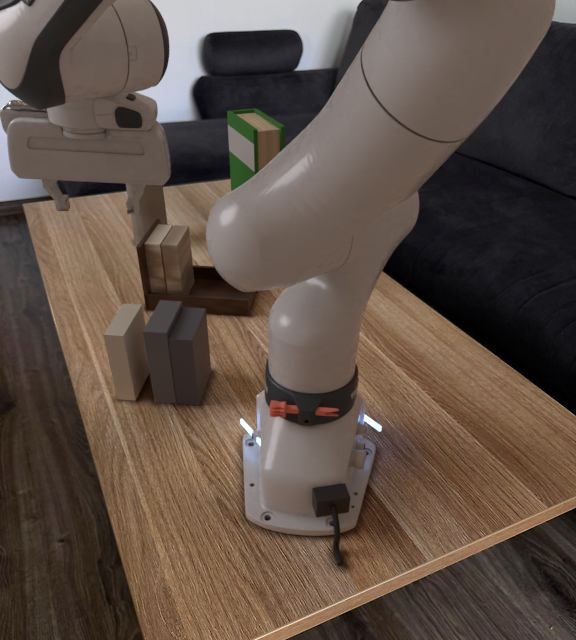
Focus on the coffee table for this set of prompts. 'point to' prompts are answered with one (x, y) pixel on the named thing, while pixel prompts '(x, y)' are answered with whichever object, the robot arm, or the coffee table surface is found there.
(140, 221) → the thermos bottle
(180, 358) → the grey books
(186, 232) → the dark wooden book rack
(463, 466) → the coffee table surface
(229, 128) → the hardback book
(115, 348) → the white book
